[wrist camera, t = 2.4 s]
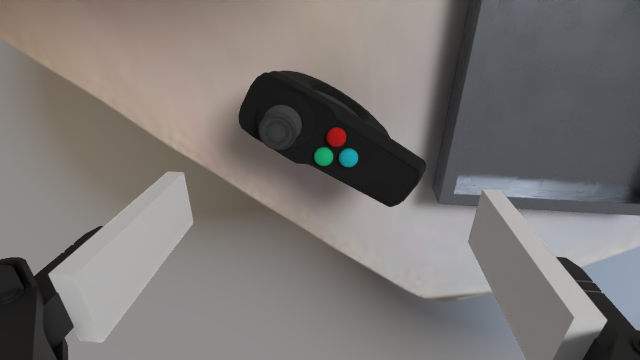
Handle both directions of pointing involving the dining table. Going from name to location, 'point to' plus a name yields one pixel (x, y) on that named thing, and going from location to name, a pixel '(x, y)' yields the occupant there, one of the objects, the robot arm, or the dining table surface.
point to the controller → (329, 135)
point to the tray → (546, 107)
